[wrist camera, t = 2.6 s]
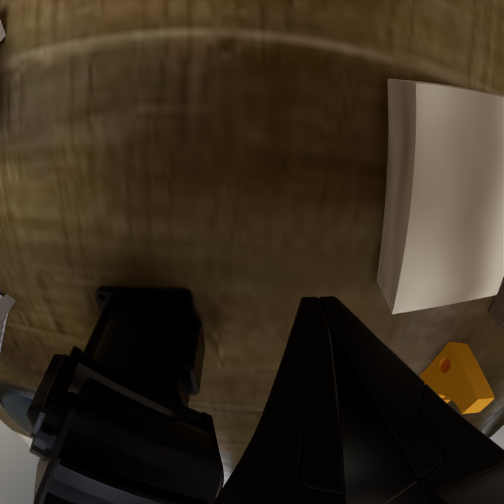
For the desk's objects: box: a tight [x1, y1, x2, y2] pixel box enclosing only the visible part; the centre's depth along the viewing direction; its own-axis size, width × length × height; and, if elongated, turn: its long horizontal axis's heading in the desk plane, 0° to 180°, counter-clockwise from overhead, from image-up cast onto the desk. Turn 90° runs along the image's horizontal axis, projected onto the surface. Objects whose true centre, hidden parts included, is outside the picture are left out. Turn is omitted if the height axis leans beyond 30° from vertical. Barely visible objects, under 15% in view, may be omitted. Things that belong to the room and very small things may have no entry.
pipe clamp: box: [419, 342, 495, 414], centre depth 24 cm, size 12×4×6 cm, turn 163°
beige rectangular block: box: [377, 79, 504, 314], centre depth 15 cm, size 8×12×4 cm, turn 6°
